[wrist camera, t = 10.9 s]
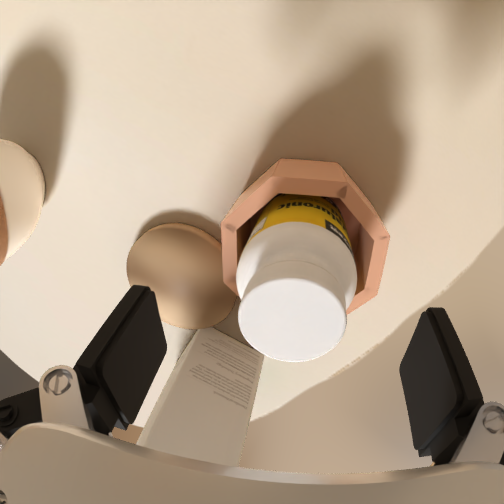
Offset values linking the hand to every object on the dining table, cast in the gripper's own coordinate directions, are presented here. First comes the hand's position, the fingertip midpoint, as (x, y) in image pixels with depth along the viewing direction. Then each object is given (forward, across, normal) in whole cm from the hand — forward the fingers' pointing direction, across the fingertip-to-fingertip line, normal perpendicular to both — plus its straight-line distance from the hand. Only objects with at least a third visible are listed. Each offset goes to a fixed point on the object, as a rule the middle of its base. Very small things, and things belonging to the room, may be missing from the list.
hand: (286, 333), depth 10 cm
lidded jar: (+12, +24, -2) cm, 27 cm away
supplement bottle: (+11, 0, +1) cm, 11 cm away
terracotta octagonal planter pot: (+11, -1, +1) cm, 11 cm away
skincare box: (+11, +6, +15) cm, 20 cm away
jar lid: (+11, +8, +6) cm, 15 cm away
